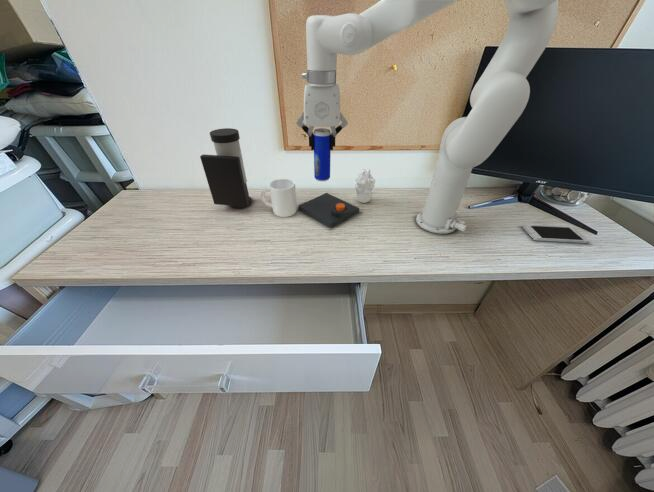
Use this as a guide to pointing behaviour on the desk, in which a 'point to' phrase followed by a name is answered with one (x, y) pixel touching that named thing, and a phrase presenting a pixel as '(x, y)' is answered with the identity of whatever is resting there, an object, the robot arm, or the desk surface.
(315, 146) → the beverage can
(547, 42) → the robot arm
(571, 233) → the smartphone
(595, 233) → the desk surface
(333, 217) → the scale
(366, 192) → the figurine
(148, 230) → the desk surface
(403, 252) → the desk surface
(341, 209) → the tare button
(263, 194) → the mug
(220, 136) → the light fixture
